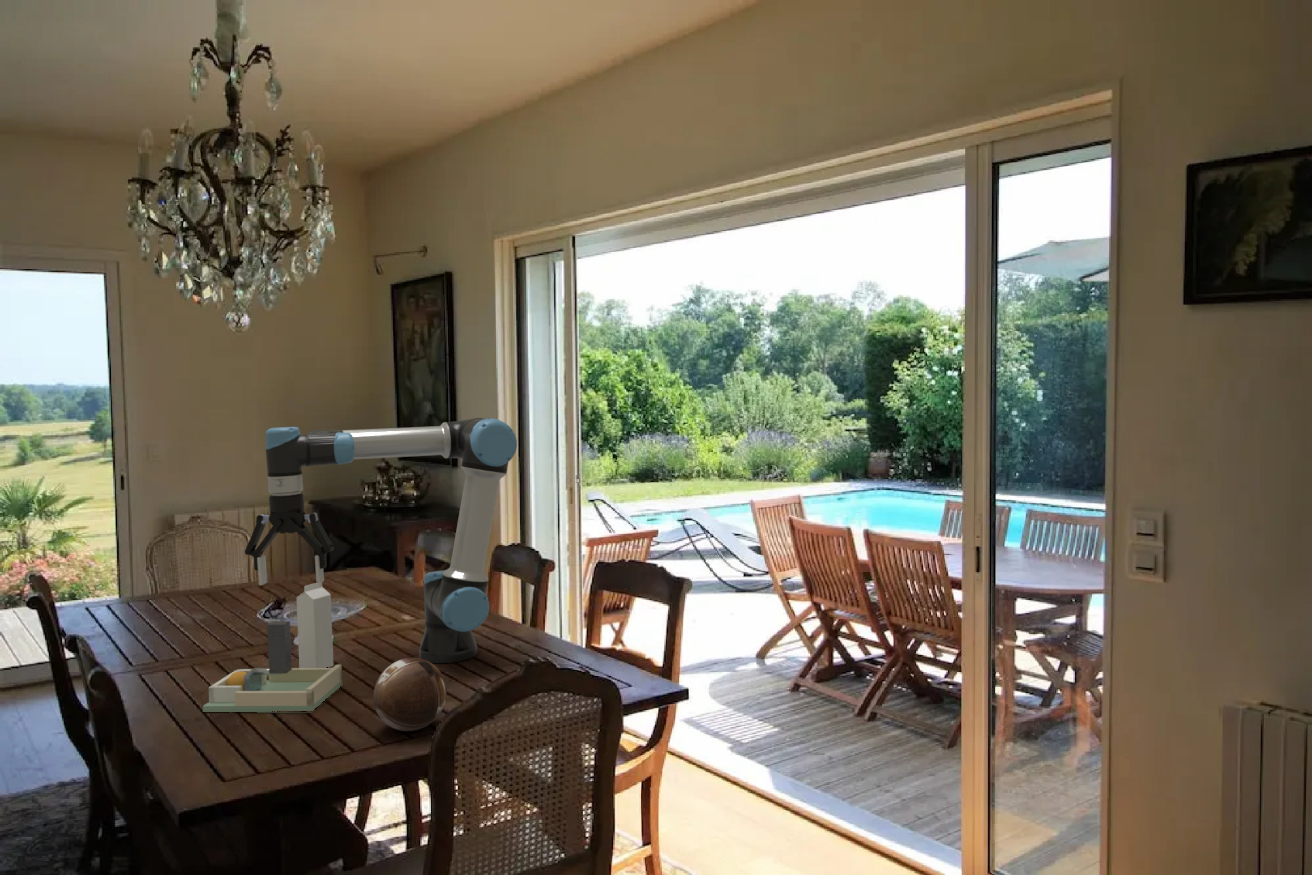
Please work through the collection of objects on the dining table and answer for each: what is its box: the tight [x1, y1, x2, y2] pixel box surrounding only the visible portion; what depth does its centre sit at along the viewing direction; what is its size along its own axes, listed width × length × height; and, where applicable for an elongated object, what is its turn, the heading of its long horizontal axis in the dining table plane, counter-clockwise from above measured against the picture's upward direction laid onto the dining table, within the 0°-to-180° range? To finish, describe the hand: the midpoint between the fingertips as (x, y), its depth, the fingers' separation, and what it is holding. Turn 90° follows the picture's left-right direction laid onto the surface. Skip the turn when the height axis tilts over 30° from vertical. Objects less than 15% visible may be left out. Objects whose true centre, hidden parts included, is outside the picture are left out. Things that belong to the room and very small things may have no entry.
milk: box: [296, 582, 334, 668], centre depth 241 cm, size 6×6×22 cm
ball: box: [227, 671, 247, 691], centre depth 218 cm, size 5×5×5 cm
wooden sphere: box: [372, 657, 448, 732], centre depth 197 cm, size 15×15×15 cm
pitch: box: [202, 664, 343, 714], centre depth 218 cm, size 25×18×5 cm
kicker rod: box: [244, 620, 293, 691], centre depth 217 cm, size 9×6×16 cm, turn 88°
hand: (291, 583), depth 219 cm, fingers open, 13 cm apart
